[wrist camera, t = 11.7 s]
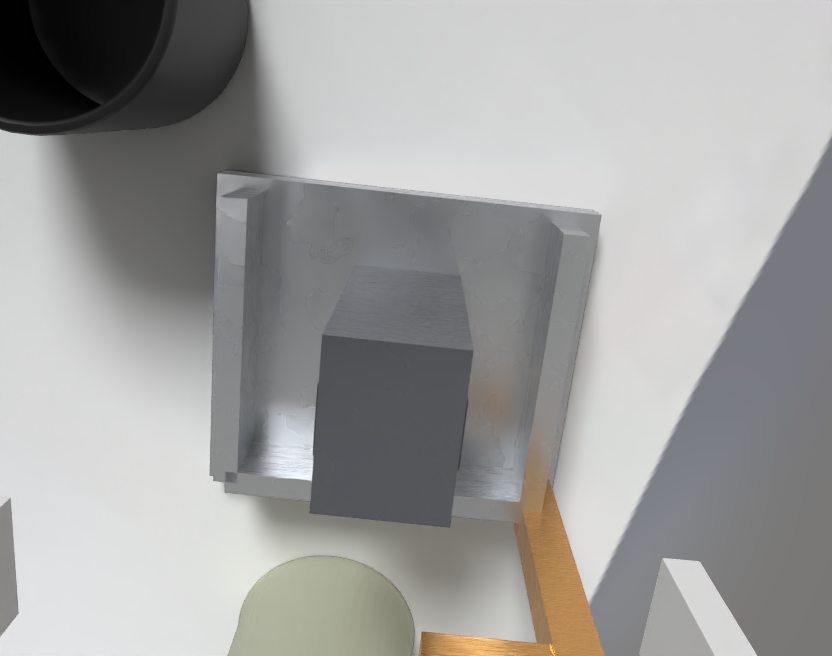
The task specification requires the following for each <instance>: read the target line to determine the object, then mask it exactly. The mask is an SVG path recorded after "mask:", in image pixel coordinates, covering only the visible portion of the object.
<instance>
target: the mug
mask: <svg viewBox="0 0 832 656" xmlns="http://www.w3.org/2000/svg"><path fill="white" fill-rule="evenodd" d="M247 29H248V2H247V0H0V129H1V130H4V131H8V132H11V133H19V134H27V135H39V136H43V135H66V134H79V133H92V132H106V131H119V130H132V129H145V128H157V127H162V126H167V125H171V124H175V123H178V122H180V121H183V120H185V119H188V118H190V117H192V116H193V115H195V114H197V113H198V112H200V111H201V110H203V109H204V108H206V107H207V106H208V105H209V104H210V103H211V102H213V101H214V100H215V99H216V98H217V97H218V96H219V94H220V93H221V92H222V91H223V90H224V88H225V87H226V86H227V84H228V83H229V81H230V80H231V78H232V76H233V74H234V73H235V71H236V69H237V67H238V64H239V61H240V59H241V56H242V53H243V50H244V46H245V41H246V36H247Z"/></svg>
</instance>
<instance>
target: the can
mask: <svg viewBox="0 0 832 656" xmlns="http://www.w3.org/2000/svg"><path fill="white" fill-rule="evenodd" d="M413 643H414V626H413V620H412V616H411V613H410V610H409V608H408V606H407V604H406V602H405V600H404V598H403V597H402V595H401V594H400V592H399V591H398V590H397V589H396V587H395V586H394V585H393V584H392V583H391V582H390V581H389V580H387V579H386V578H385V577H384V576H383V575H381V574H380V573H378V572H377V571H375V570H374V569H372V568H370V567H368V566H366V565H364V564H361V563H358V562H356V561H353V560H349V559H345V558H341V557H334V556H310V557H304V558H299V559H296V560H292V561H289V562H287V563H284V564H282V565H279V566H278V567H276V568H274V569H272V570H271V571H269V572H268V573H267V574H265V575H264V576H263V577H262V578H261V579H260V580H258V581H257V583H256V584H255V585H254V586H253V587H252V589H251V590H250V591H249V593H248V595H247V596H246V598H245V600H244V603H243V605H242V608H241V611H240V615H239V622H238V627H237V630H236V633H235V636H234V639H233V642H232V644H231V647H230V650H229V653H228V655H227V656H411V652H412V648H413Z"/></svg>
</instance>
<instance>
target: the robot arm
mask: <svg viewBox="0 0 832 656" xmlns="http://www.w3.org/2000/svg"><path fill="white" fill-rule="evenodd" d="M17 614H18V598H17V584H16V569H15V555H14V541H13V526H12V512H11V497H1V496H0V636H1V635H2V634H3V632H4V631H5V630H6V629H7V627H8V626H9V625H10V623H11V622H12V621H13V620H14V618H15V617H16V616H17ZM639 656H757V655H756V653H755V652H754V650H753V649H752V647H751V645H750V643H749V642H748V640H747V639H746V637H745V635H744V634H743V632H742V630H741V629H740V627H739V626H738V624H737V622H736V620H735V619H734V617H733V616H732V614H731V612H730V611H729V609H728V607H727V606H726V604H725V603H724V601H723V599H722V598H721V596H720V594H719V593H718V591H717V590H716V588H715V586H714V584H713V583H712V581H711V580H710V578H709V576H708V575H707V573H706V571H705V570H704V568H703V566H702V565H701V563H700V562H699V561H689V560H678V559H667V558H663V559H662V562H661V566H660V570H659V575H658V579H657V583H656V587H655V591H654V595H653V600H652V604H651V608H650V612H649V616H648V620H647V625H646V629H645V633H644V637H643V641H642V645H641V650H640V654H639Z"/></svg>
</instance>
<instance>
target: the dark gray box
mask: <svg viewBox="0 0 832 656" xmlns="http://www.w3.org/2000/svg"><path fill="white" fill-rule="evenodd" d="M473 352H474V350H473V344H472V338H471V332H470V327H469V321H468V315H467V309H466V303H465V297H464V291H463V286H462V280H461V276H460V275H451V274H441V273H432V272H422V271H413V270H404V269H394V268H385V267H376V266H366V265H357V264H356V265H355V267H354V269H353V272H352V274H351V276H350V278H349V280H348V282H347V284H346V286H345V288H344V290H343V292H342V294H341V296H340V298H339V301H338V303H337V305H336V307H335V309H334V311H333V313H332V315H331V317H330V319H329V321H328V323H327V325H326V327H325V330H324V332H323V334H322V342H321V356H320V371H319V382H318V384H317V396H316V411H315V425H314V440H313V454H312V455H314V457H313V471H312V486H311V500H310V513H314V514H323V515H333V516H343V517H353V518H362V519H372V520H382V521H391V522H401V523H411V524H420V525H430V526H440V527H450V523H451V515H452V508H453V500H454V493H455V485H456V478H457V471H458V470H459V468H460V460H461V453H462V446H463V438H464V431H465V423H466V416H467V409H468V401H469V400H468V389H469V381H470V374H471V366H472V359H473Z"/></svg>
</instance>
